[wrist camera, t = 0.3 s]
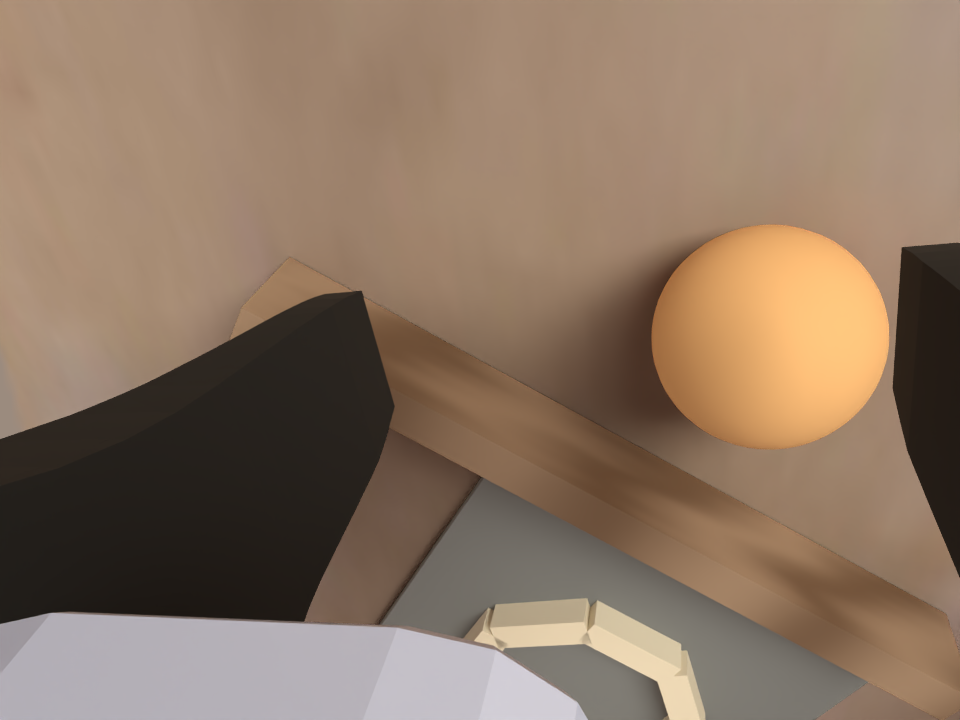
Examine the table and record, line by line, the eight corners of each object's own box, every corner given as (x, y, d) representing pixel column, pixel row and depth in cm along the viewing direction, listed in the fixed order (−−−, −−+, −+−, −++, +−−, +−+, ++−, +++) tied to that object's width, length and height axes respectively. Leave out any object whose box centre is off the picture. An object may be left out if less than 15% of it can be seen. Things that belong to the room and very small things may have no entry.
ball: (913, 258, 19) (975, 371, 15) (778, 402, 22) (799, 532, 18) (732, 152, 19) (745, 240, 15) (617, 313, 22) (601, 424, 18)
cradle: (873, 666, 27) (882, 704, 25) (636, 836, 34) (635, 870, 33) (491, 462, 25) (482, 492, 24) (336, 686, 33) (323, 716, 32)
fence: (946, 613, 25) (975, 700, 22) (916, 635, 25) (941, 721, 23) (289, 257, 23) (241, 307, 21) (276, 289, 24) (228, 342, 21)
